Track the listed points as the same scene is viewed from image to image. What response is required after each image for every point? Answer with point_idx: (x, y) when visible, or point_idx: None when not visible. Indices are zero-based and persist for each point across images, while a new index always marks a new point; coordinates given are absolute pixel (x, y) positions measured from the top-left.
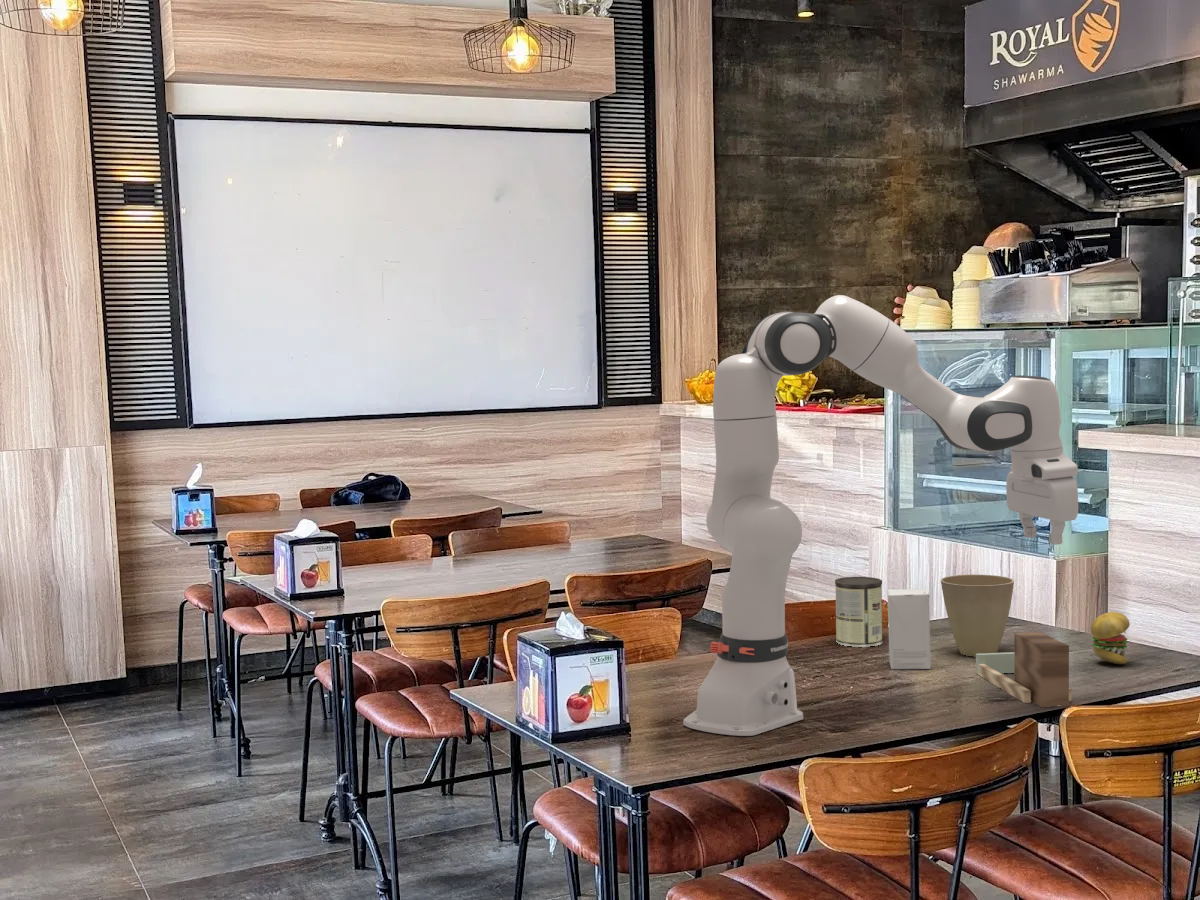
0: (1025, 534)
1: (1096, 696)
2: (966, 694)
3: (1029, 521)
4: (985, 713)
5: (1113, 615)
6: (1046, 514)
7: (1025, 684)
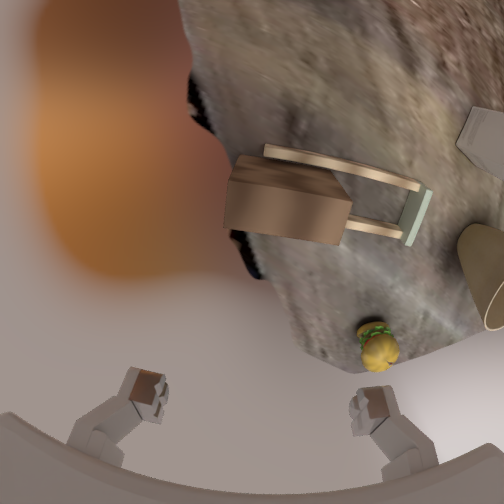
0: (382, 392)
1: (266, 244)
2: (336, 98)
3: (390, 447)
4: (231, 67)
5: (377, 365)
6: (70, 471)
7: (295, 167)
